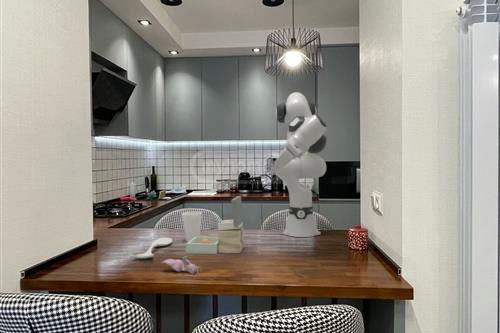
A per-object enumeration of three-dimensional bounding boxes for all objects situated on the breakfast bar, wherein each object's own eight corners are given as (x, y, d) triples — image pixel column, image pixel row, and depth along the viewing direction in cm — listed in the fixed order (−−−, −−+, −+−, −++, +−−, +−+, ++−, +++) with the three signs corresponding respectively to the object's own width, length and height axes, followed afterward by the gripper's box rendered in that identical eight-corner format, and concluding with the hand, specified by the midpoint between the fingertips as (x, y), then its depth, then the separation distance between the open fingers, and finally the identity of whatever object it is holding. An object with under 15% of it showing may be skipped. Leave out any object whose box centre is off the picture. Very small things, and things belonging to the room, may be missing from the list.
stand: (223, 247, 151) (222, 226, 151) (243, 247, 150) (243, 226, 150) (218, 252, 142) (217, 231, 142) (239, 253, 141) (239, 231, 141)
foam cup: (204, 237, 170) (203, 211, 170) (200, 242, 161) (199, 214, 161) (185, 237, 171) (185, 211, 171) (180, 242, 162) (179, 214, 162)
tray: (195, 245, 155) (195, 236, 155) (223, 245, 153) (223, 236, 153) (186, 253, 142) (185, 243, 142) (216, 254, 140) (216, 244, 140)
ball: (200, 243, 150) (205, 236, 150) (207, 248, 150) (212, 241, 149) (197, 245, 146) (202, 238, 146) (205, 251, 146) (210, 243, 145)
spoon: (129, 263, 132) (128, 254, 131) (156, 242, 163) (156, 235, 163) (152, 263, 131) (152, 254, 131) (175, 242, 163) (174, 235, 163)
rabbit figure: (203, 274, 120) (167, 263, 125) (205, 257, 120) (168, 248, 125) (194, 280, 114) (156, 269, 119) (197, 263, 114) (158, 252, 119)
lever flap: (243, 223, 152) (240, 195, 152) (238, 230, 138) (234, 199, 138) (224, 225, 153) (221, 197, 153) (216, 231, 140) (213, 201, 139)
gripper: (289, 143, 152) (268, 166, 154) (288, 142, 131) (263, 168, 133) (300, 153, 151) (278, 176, 153) (300, 154, 131) (274, 180, 133)
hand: (271, 172), depth 143 cm, fingers open, 8 cm apart
